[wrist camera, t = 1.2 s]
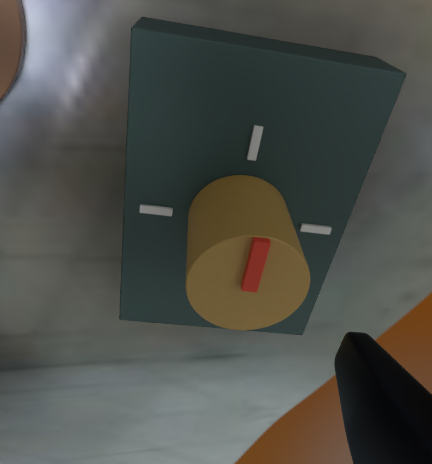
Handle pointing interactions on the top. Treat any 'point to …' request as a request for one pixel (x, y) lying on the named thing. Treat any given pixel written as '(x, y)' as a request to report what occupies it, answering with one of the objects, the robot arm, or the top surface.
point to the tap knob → (243, 255)
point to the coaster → (11, 43)
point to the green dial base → (241, 148)
